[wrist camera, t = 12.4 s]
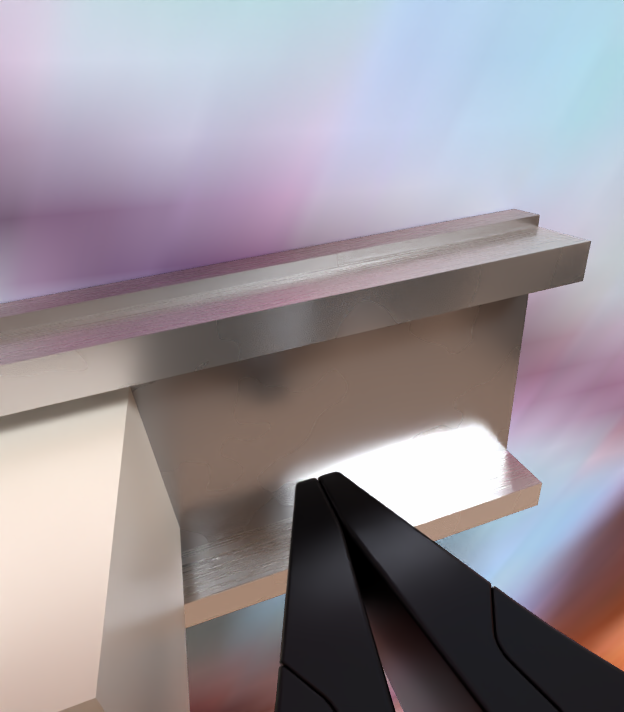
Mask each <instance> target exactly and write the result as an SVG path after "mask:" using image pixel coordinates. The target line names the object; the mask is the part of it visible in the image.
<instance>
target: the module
mask: <svg viewBox="0 0 624 712" xmlns="http://www.w3.org/2000/svg"><path fill="white" fill-rule="evenodd" d="M0 712H190V703H189V685H188V667H187V649H186V630H185V612H184V594H183V576H182V558H181V539H180V527H179V524H178V521H177V519H176V516H175V513H174V510H173V507H172V504H171V502H170V499H169V496H168V493H167V490H166V487H165V485H164V482H163V479H162V476H161V473H160V470H159V468H158V465H157V462H156V459H155V456H154V453H153V451H152V448H151V445H150V442H149V439H148V436H147V434H146V431H145V428H144V425H143V422H142V419H141V417H140V414H139V411H138V408H137V405H136V402H135V400H134V397H133V394H132V391H131V388H130V386H129V387H125V388H121V389H116V390H112V391H108V392H103V393H99V394H95V395H91V396H86V397H82V398H78V399H73V400H69V401H65V402H61V403H56V404H52V405H48V406H43V407H39V408H35V409H30V410H26V411H22V412H18V413H13V414H9V415H5V416H0Z"/></svg>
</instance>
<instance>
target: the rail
mask: <svg viewBox="0 0 624 712" xmlns="http://www.w3.org/2000/svg"><path fill="white" fill-rule="evenodd" d="M539 216H540V215H538V214H534V213H530V212H525V211H521V210H517V209H511V210H506V211H500V212H495V213H489V214H484V215H479V216H473V217H468V218H462V219H457V220H452V221H446V222H441V223H435V224H430V225H424V226H419V227H414V228H408V229H403V230H397V231H392V232H387V233H381V234H376V235H370V236H365V237H360V238H354V239H349V240H343V241H338V242H332V243H327V244H322V245H316V246H311V247H305V248H300V249H295V250H289V251H284V252H278V253H273V254H267V255H262V256H257V257H251V258H246V259H240V260H235V261H230V262H224V263H219V264H213V265H208V266H203V267H197V268H192V269H186V270H181V271H175V272H170V273H165V274H159V275H154V276H148V277H143V278H138V279H132V280H127V281H121V282H116V283H110V284H105V285H100V286H94V287H89V288H83V289H78V290H73V291H67V292H62V293H56V294H51V295H46V296H40V297H35V298H29V299H24V300H18V301H13V302H8V303H2V304H0V416H5V415H9V414H13V413H18V412H22V411H26V410H30V409H35V408H39V407H43V406H48V405H52V404H56V403H61V402H65V401H69V400H73V399H78V398H82V397H86V396H91V395H95V394H99V393H103V392H108V391H112V390H116V389H121V388H125V387H129V386H130V388H131V391H132V394H133V397H134V400H135V402H136V405H137V408H138V411H139V414H140V417H141V419H142V422H143V425H144V428H145V431H146V434H147V436H148V439H149V442H150V445H151V448H152V451H153V453H154V456H155V459H156V462H157V465H158V468H159V470H160V473H161V476H162V479H163V482H164V485H165V487H166V490H167V493H168V496H169V499H170V502H171V504H172V507H173V510H174V513H175V516H176V519H177V521H178V524H179V527H180V539H181V558H182V576H183V594H184V612H185V628H188V627H191V626H194V625H197V624H200V623H202V622H205V621H208V620H211V619H214V618H217V617H220V616H222V615H225V614H228V613H231V612H234V611H237V610H240V609H242V608H245V607H248V606H251V605H254V604H257V603H259V602H262V601H265V600H268V599H271V598H274V597H277V596H279V595H282V594H285V593H286V586H287V575H288V563H289V552H290V541H291V530H292V519H293V507H294V496H295V486H296V484H297V483H298V482H300V481H304V480H307V479H310V478H316V479H317V480H318V478H319V476H321V475H324V474H328V473H331V472H334V471H338V472H340V473H342V474H343V475H345V476H346V477H347V478H349V479H350V480H351V481H353V482H354V483H355V484H357V485H358V486H360V487H361V488H362V489H364V490H365V491H366V492H368V493H369V494H370V495H372V496H373V497H374V498H376V499H377V500H379V501H380V502H381V503H383V504H384V505H385V506H387V507H388V508H389V509H391V510H392V511H394V512H395V513H396V514H398V515H399V516H400V517H402V518H403V519H404V520H406V521H407V522H408V523H410V524H411V525H413V526H414V527H415V528H417V529H418V530H419V531H421V532H422V533H423V534H425V535H426V536H427V537H429V538H430V539H432V540H433V541H436V540H439V539H442V538H445V537H447V536H450V535H453V534H456V533H459V532H462V531H465V530H467V529H470V528H473V527H476V526H479V525H482V524H485V523H487V522H490V521H493V520H496V519H499V518H502V517H504V516H507V515H510V514H513V513H516V512H519V511H522V510H524V509H527V508H530V507H533V506H536V505H538V500H539V495H540V490H541V485H542V483H541V482H540V481H539V480H538V479H537V478H536V477H535V476H534V475H533V474H532V473H531V472H530V471H529V470H528V469H527V468H525V467H524V466H523V465H522V464H521V463H520V462H519V461H518V460H517V459H516V458H515V457H514V456H513V455H512V454H510V453H509V452H508V451H507V450H506V448H507V441H508V434H509V427H510V420H511V413H512V406H513V399H514V392H515V385H516V378H517V371H518V364H519V357H520V350H521V343H522V336H523V329H524V322H525V315H526V308H527V301H528V294H529V293H533V292H537V291H542V290H546V289H550V288H554V287H559V286H563V285H567V284H572V283H576V282H580V281H583V278H584V273H585V268H586V263H587V258H588V253H589V248H590V244H591V241H589V240H586V239H582V238H578V237H574V236H571V235H567V234H563V233H560V232H556V231H552V230H549V229H545V228H541V227H538V223H539Z"/></svg>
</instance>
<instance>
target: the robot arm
mask: <svg viewBox="0 0 624 712" xmlns="http://www.w3.org/2000/svg"><path fill="white" fill-rule="evenodd" d="M280 665H281V666H280V667H279V672H278V683H277V694H276V703H275V711H274V712H395V708H394V705H393V702H392V698H391V695H390V691H389V688H388V684H387V681H386V677H385V674H384V670H385V673H386V675H387V677H388V679H389V681H390V683H391V685H392V687H393V690H394V692H395V694H396V696H397V698H398V700H399V702H400V705H401V707H402V709H403V711H404V712H624V671H622V670H620V669H619V668H617V667H616V666H614V665H612V664H611V663H609V662H607V661H606V660H604V659H602V658H601V657H599V656H597V655H596V654H594V653H593V652H591V651H589V650H588V649H586V648H585V647H583V646H581V645H580V644H578V643H577V642H575V641H574V640H572V639H570V638H569V637H567V636H566V635H564V634H563V633H561V632H559V631H558V630H556V629H555V628H553V627H552V626H550V625H549V624H547V623H546V622H544V621H543V620H542V619H540V618H539V617H537V616H536V615H534V614H533V613H532V612H530V611H529V610H527V609H526V608H524V607H523V606H522V605H520V604H519V603H517V602H516V601H515V600H513V599H512V598H510V597H509V596H508V595H506V594H505V593H504V592H502V591H501V590H500V589H498V588H497V587H495V586H493V587H492V588H491V583H490V582H489V581H487V580H486V579H484V578H483V577H482V576H480V575H479V574H478V573H476V572H475V571H474V570H472V569H471V568H470V567H468V566H467V565H465V564H464V563H463V562H461V561H460V560H459V559H457V558H456V557H455V556H453V555H452V554H451V553H449V552H448V551H446V550H445V549H444V548H442V547H441V546H440V545H438V544H437V543H436V542H434V541H433V540H432V539H430V538H429V537H427V536H426V535H425V534H423V533H422V532H421V531H419V530H418V529H417V528H415V527H414V526H413V525H411V524H410V523H408V522H407V521H406V520H404V519H403V518H402V517H400V516H399V515H398V514H396V513H395V512H394V511H392V510H391V509H389V508H388V507H387V506H385V505H384V504H383V503H381V502H380V501H379V500H377V499H376V498H374V497H373V496H372V495H370V494H369V493H368V492H366V491H365V490H364V489H362V488H361V487H360V486H358V485H357V484H355V483H354V482H353V481H351V480H350V479H349V478H347V477H346V476H345V475H343V474H342V473H340V472H338V471H334V472H331V473H328V474H324V475H321V476H319V478H318V480H317V479H316V478H310V479H307V480H304V481H300V482H298V483H297V484H296V486H295V496H294V507H293V519H292V530H291V541H290V552H289V563H288V575H287V586H286V597H285V608H284V619H283V631H282V642H281V653H280ZM382 666H383V667H382ZM383 668H384V670H383Z"/></svg>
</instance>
